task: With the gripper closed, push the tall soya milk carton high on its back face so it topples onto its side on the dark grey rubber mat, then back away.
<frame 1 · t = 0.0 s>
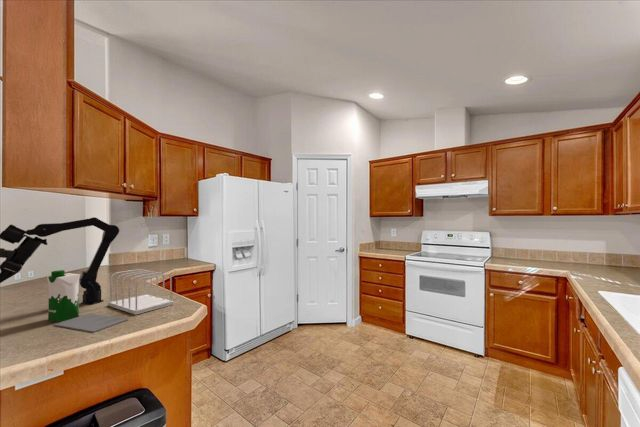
file sorter: (141, 306, 136), on the counter
soya milk: (63, 318, 119), on the counter
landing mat: (91, 322, 114), on the counter
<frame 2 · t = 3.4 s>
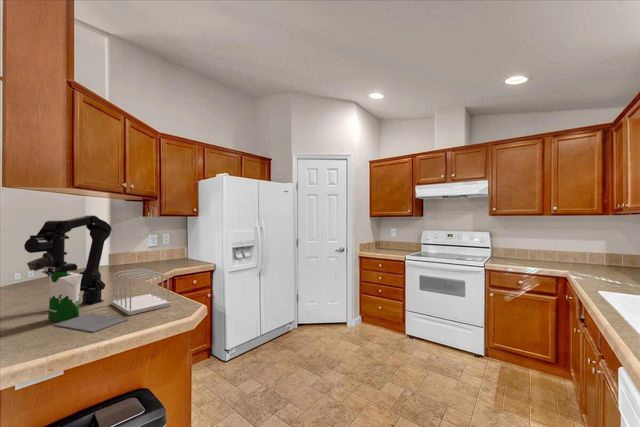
hand: (54, 287, 121), 12 cm above the counter, tool pointing down, fingers closed
soya milk: (63, 318, 119), on the counter, touching gripper
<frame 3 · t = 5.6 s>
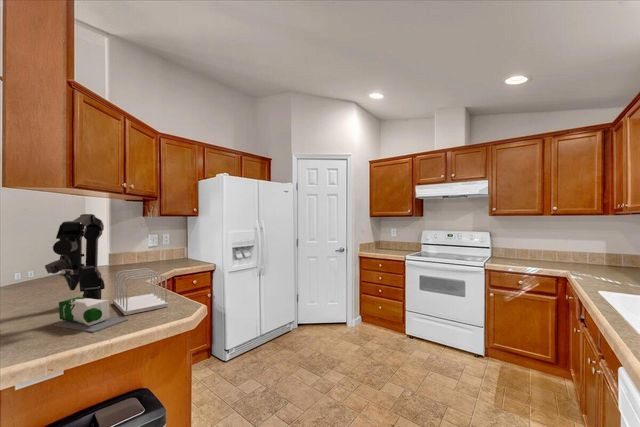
hand: (72, 290, 118), 12 cm above the counter, tool pointing down, fingers closed
soya milk: (69, 307, 118), point 5 cm above the counter, touching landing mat
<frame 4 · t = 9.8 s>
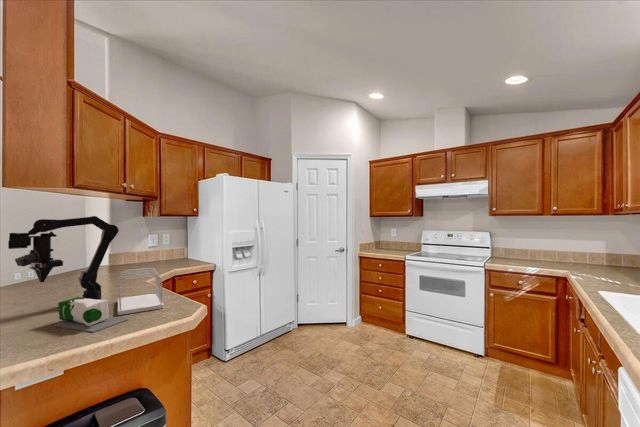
hand: (41, 282, 129), 13 cm above the counter, tool pointing down, fingers closed
at the end: soya milk tilted 90°; soya milk inside the target area (4.1 cm from its centre), point 4.8 cm above the counter; soya milk touching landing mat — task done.
